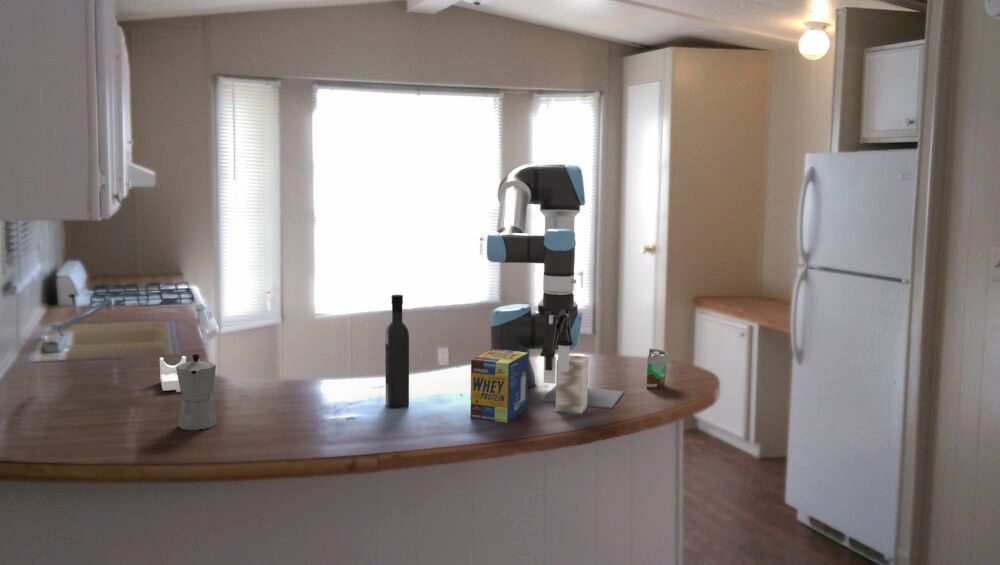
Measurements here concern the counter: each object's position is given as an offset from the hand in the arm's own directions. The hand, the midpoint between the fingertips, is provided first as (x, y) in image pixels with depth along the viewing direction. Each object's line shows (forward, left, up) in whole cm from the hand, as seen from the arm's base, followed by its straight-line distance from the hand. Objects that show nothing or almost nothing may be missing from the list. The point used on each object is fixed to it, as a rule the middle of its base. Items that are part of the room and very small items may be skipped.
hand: (556, 376), depth 229 cm
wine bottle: (-45, +4, -13) cm, 47 cm away
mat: (0, +31, -13) cm, 33 cm away
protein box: (-17, +7, -13) cm, 23 cm away
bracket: (-113, 0, -13) cm, 114 cm away
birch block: (0, +17, -13) cm, 22 cm away
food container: (+18, +51, -13) cm, 56 cm away
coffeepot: (-84, -29, -13) cm, 90 cm away
